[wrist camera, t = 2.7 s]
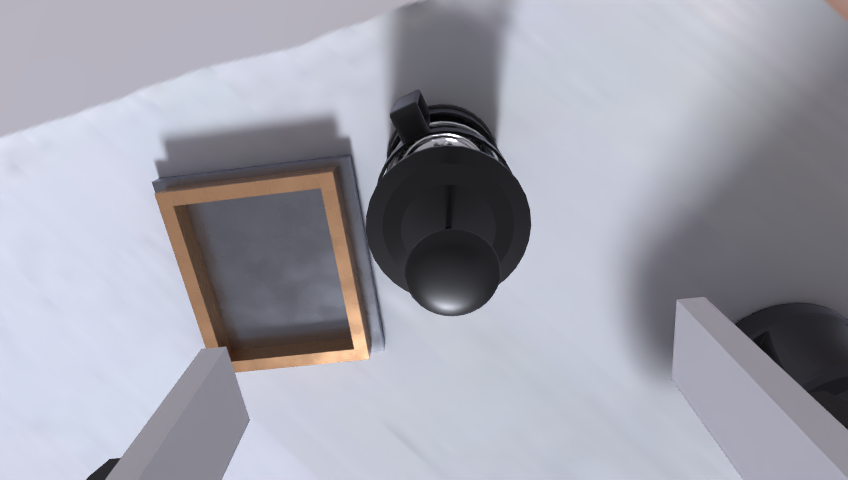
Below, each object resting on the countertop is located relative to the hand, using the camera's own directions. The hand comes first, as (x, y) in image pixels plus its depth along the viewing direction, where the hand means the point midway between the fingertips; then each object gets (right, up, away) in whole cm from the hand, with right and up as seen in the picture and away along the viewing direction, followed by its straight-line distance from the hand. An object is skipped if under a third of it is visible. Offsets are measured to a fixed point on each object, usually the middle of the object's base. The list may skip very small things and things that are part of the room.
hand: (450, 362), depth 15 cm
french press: (+1, +11, +28) cm, 30 cm away
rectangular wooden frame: (-14, +1, +32) cm, 35 cm away
